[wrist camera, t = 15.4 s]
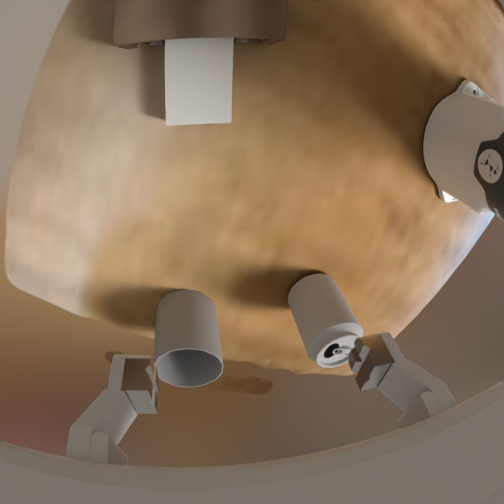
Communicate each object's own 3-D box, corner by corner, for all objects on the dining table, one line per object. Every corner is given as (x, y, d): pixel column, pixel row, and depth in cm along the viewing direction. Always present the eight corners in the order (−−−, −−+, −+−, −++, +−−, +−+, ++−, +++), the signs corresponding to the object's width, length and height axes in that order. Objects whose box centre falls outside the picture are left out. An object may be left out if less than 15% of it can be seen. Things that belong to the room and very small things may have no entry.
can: (292, 269, 41) (321, 336, 32) (340, 269, 43) (377, 330, 33) (281, 310, 45) (303, 375, 36) (326, 307, 47) (355, 367, 37)
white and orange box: (233, -26, 20) (237, -35, 18) (228, 118, 29) (231, 123, 26) (171, -25, 19) (168, -34, 17) (168, 120, 28) (166, 126, 26)
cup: (199, 337, 46) (204, 392, 38) (149, 321, 42) (145, 378, 34) (225, 300, 43) (235, 358, 34) (171, 281, 39) (169, 340, 31)
